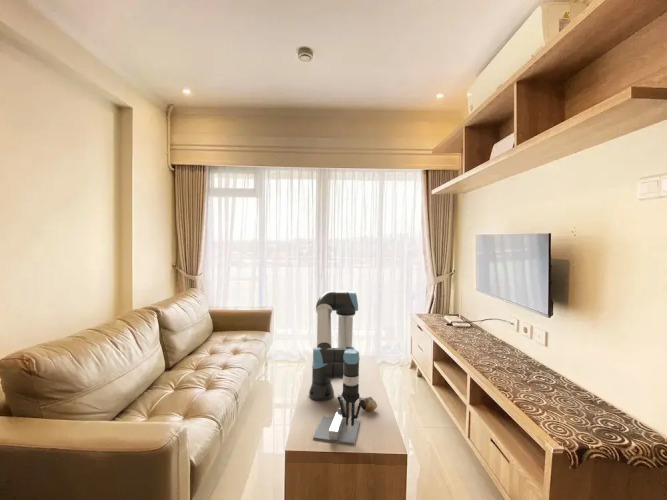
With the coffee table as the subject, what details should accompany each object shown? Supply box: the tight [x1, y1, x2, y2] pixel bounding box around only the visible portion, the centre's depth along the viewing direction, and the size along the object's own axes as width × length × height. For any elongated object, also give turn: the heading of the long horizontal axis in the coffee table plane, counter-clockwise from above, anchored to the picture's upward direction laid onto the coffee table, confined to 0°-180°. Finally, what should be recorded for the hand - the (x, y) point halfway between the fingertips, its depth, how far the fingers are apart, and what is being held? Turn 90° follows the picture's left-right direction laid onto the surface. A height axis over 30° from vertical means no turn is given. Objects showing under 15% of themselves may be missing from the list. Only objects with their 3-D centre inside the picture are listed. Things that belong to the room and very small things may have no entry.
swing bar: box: [329, 405, 346, 440], centre depth 170 cm, size 21×4×6 cm, turn 168°
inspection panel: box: [312, 415, 361, 446], centre depth 171 cm, size 20×20×1 cm
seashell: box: [360, 396, 378, 412], centre depth 191 cm, size 10×6×8 cm, turn 87°
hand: (349, 431), depth 164 cm, fingers closed
